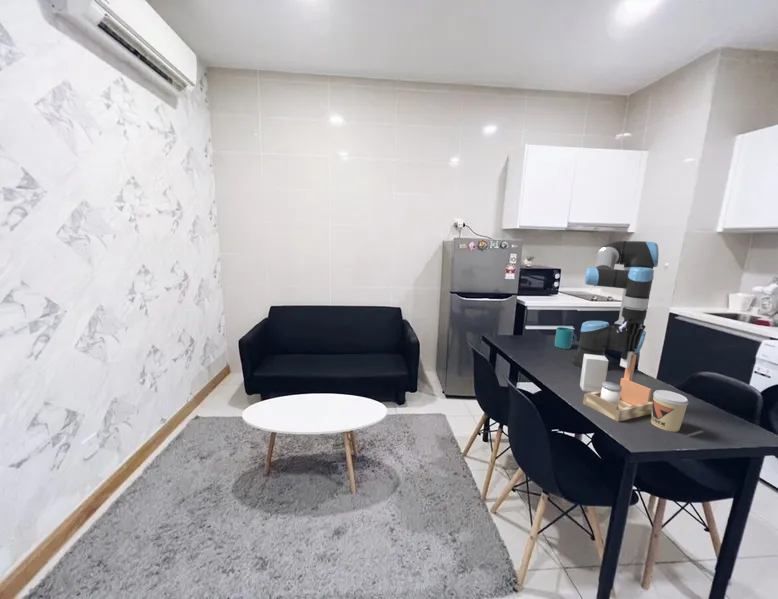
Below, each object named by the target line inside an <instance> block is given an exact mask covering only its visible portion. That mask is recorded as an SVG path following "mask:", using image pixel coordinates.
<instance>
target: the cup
mask: <svg viewBox="0 0 778 599" xmlns="http://www.w3.org/2000/svg"><path fill="white" fill-rule="evenodd" d="M555 330H556V331H555V332H556V333H555V337H554V347H556V348H558V347H559V348H558V349H561V348H562V349H561V350H569V349H570V350H571V349H572V344H573V343H575V342H576V341H577V335H576V334H575V333H574V329H572V328H569V327H564V326H560V327H559V326H558V327H556V329H555ZM573 336H574V339H573Z"/></svg>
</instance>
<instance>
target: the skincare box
mask: <svg viewBox="0 0 778 599" xmlns="http://www.w3.org/2000/svg"><path fill="white" fill-rule="evenodd" d="M609 361H610V360H608V358H607V357H606V356H601V355H591V354H584V358H583V365H582V367H581V372H580V380H579V381H580V382H579V387H580V388H581V390H582V391H583V392H586V393H589V392H590V393H591V392H596V391H601V390H602V383H603V382H607V381H606V380H607V374H608V373H607V372H608V369H609V368H608V366H609Z"/></svg>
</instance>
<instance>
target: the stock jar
mask: <svg viewBox="0 0 778 599" xmlns="http://www.w3.org/2000/svg"><path fill="white" fill-rule="evenodd" d="M621 391H622V386H620V384H618V383H615V382H612V381H606V382H603V383H602V390H601V396H600V398H602V399H604V400H606V401H608V402H611V403H613V404H615V405H617V406H619V400H620V395H621Z"/></svg>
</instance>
